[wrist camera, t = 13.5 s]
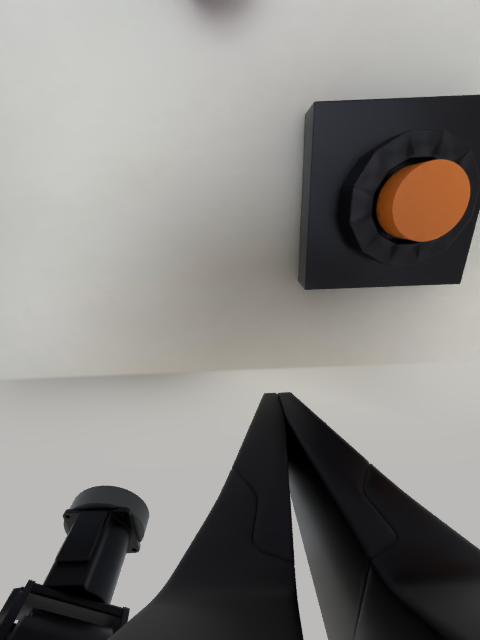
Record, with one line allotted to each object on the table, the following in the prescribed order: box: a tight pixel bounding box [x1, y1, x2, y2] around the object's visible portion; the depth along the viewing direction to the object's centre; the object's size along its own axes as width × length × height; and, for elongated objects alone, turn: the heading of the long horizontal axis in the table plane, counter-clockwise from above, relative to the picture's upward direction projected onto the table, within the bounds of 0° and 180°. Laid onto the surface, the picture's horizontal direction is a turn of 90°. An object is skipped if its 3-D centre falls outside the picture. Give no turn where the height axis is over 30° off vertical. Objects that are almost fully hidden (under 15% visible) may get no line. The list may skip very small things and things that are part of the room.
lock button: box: [376, 159, 470, 242], centre depth 14 cm, size 4×4×2 cm
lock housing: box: [298, 95, 480, 290], centre depth 16 cm, size 10×10×4 cm
